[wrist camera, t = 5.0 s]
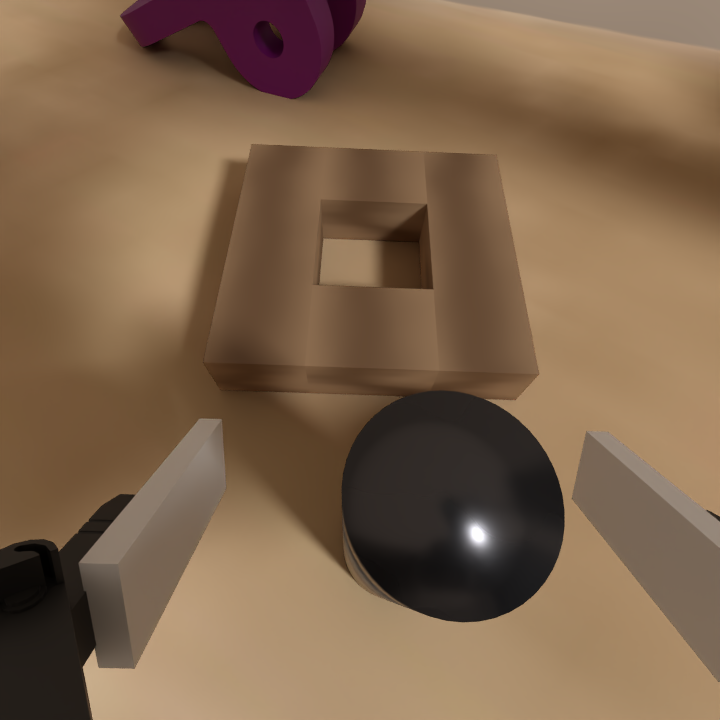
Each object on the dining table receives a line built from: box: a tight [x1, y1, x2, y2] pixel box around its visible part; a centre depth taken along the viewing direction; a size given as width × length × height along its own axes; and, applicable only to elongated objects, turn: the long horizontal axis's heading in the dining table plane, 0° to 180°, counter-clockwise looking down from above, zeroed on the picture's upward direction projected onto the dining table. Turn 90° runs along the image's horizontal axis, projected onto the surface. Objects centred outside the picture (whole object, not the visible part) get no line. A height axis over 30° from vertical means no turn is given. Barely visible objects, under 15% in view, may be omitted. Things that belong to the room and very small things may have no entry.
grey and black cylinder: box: [342, 390, 564, 622], centre depth 13 cm, size 4×4×12 cm
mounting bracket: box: [120, 0, 366, 99], centre depth 34 cm, size 10×9×19 cm
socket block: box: [203, 144, 539, 400], centre depth 24 cm, size 15×15×3 cm
